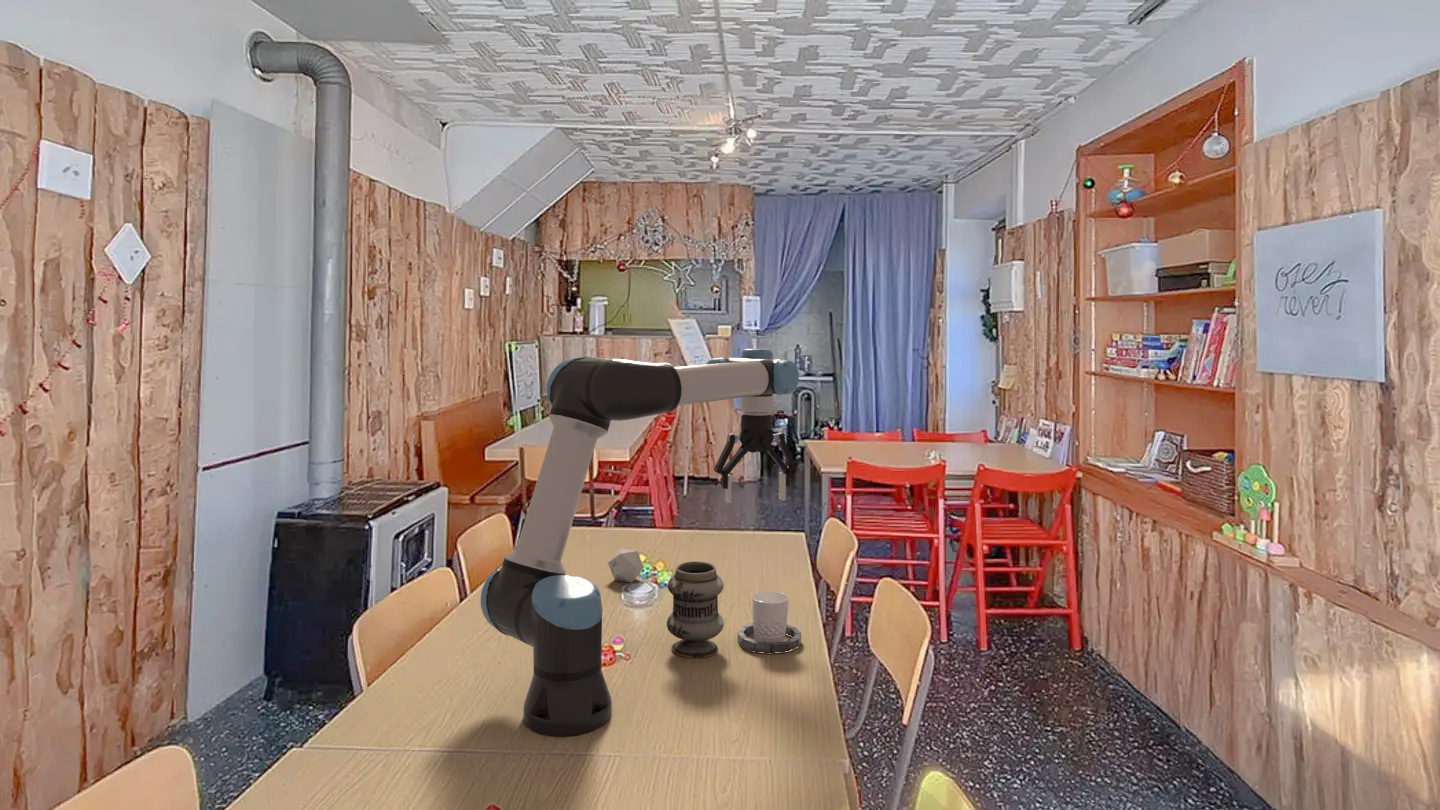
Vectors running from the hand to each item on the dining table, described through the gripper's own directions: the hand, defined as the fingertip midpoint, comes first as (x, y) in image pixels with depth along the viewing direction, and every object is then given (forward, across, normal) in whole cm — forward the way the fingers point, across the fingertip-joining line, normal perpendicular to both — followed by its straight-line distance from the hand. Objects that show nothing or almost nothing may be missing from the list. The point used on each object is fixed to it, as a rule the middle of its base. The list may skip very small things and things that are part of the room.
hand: (755, 501), depth 193 cm
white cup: (+27, +3, +21) cm, 34 cm away
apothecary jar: (+27, +20, +21) cm, 40 cm away
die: (+27, +27, -30) cm, 49 cm away
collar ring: (+27, +3, +21) cm, 34 cm away
